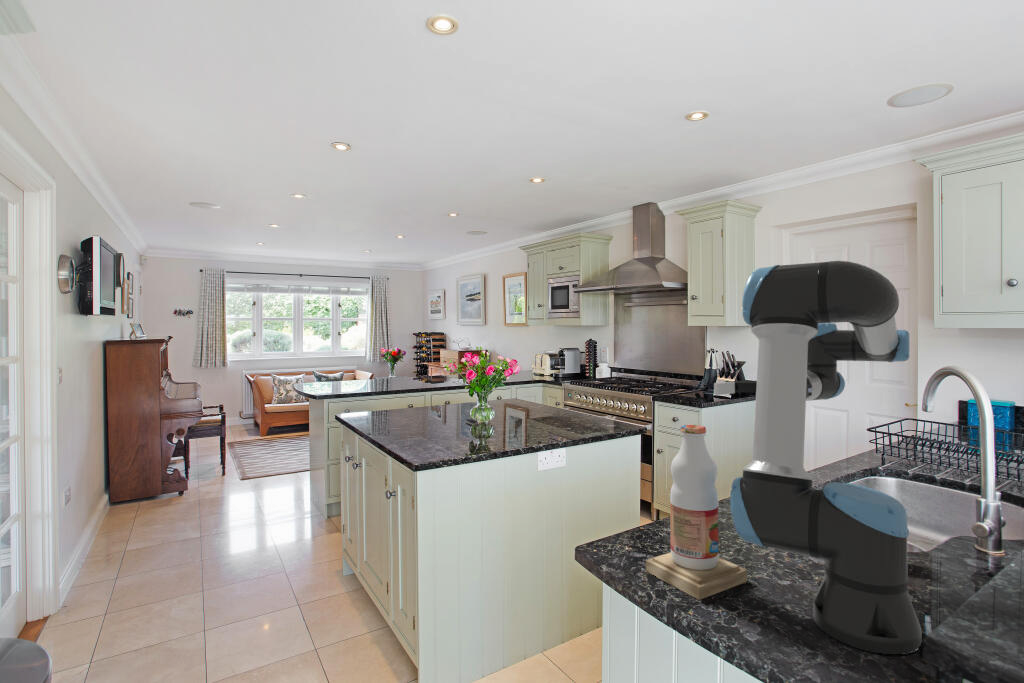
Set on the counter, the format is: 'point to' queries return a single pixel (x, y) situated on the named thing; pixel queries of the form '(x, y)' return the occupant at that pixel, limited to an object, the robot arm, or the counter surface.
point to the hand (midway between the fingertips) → (740, 391)
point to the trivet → (697, 576)
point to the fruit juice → (694, 503)
